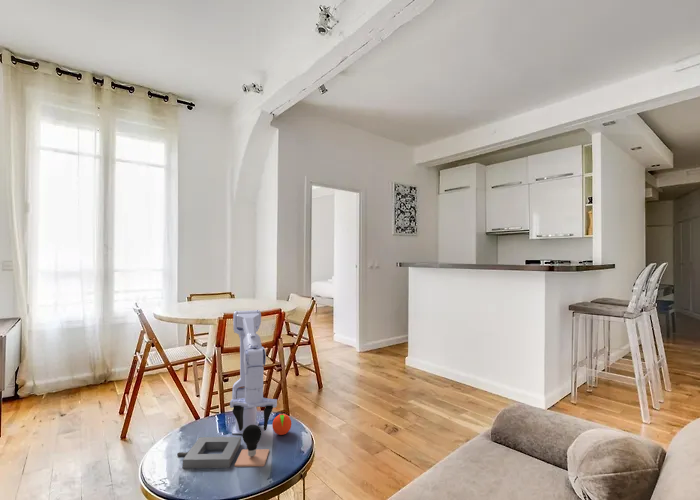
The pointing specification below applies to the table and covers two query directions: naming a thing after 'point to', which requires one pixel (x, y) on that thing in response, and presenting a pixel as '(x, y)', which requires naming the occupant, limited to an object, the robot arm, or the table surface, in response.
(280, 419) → the clementine
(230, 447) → the socket block
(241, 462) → the terracotta tile
